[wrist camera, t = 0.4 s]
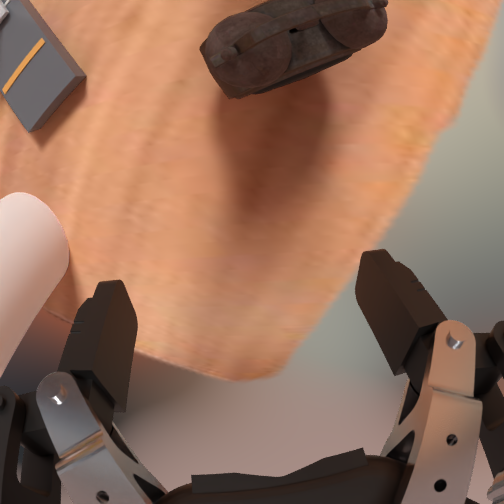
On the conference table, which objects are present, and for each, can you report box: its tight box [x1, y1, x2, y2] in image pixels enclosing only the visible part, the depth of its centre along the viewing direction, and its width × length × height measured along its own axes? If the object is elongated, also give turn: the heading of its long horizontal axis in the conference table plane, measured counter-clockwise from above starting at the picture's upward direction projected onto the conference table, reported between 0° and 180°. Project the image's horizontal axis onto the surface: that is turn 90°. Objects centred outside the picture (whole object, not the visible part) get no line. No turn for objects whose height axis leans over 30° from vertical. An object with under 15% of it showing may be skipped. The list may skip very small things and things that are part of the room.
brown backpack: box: [200, 0, 388, 99], centre depth 21 cm, size 15×7×20 cm, turn 117°
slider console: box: [0, 0, 86, 133], centre depth 23 cm, size 26×10×3 cm, turn 34°
